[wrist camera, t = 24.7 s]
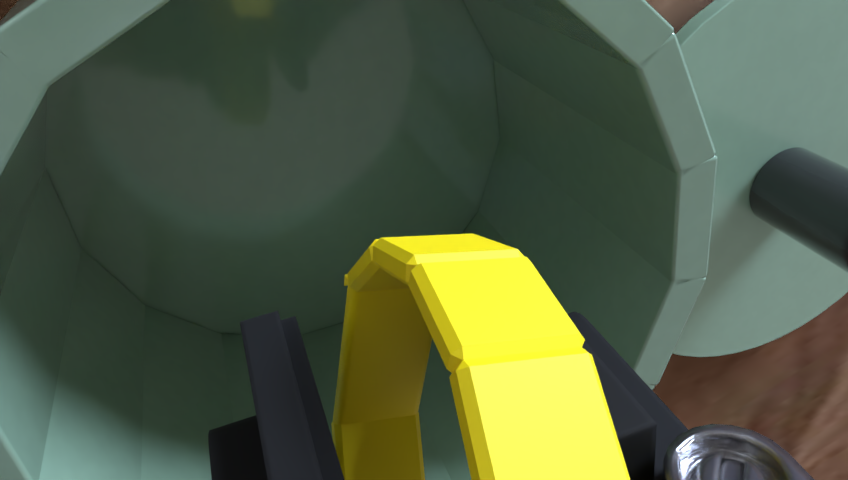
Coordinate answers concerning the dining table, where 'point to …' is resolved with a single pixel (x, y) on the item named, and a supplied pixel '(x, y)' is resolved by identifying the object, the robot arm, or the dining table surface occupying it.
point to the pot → (315, 197)
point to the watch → (467, 365)
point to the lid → (771, 167)
